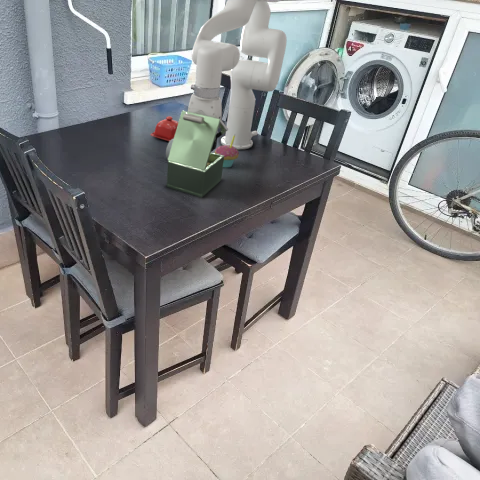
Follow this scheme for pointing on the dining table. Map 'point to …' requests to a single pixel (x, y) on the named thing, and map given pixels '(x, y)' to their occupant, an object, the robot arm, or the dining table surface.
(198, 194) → the box
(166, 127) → the butter dish
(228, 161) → the cupcake
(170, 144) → the ceramic mug
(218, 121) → the lid
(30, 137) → the dining table surface
